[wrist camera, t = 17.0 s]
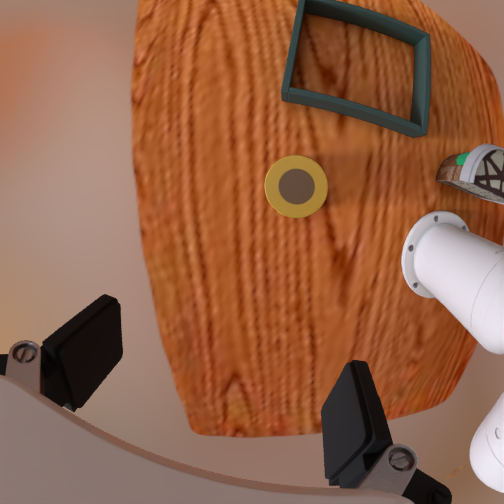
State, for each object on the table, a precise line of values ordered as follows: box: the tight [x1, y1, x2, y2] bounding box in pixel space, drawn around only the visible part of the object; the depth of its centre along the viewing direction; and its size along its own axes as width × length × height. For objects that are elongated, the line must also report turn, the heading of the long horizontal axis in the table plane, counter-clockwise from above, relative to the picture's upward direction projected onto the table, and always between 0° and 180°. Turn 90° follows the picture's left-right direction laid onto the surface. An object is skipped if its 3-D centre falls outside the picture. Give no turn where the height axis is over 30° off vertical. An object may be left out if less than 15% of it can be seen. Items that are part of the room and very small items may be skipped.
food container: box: [436, 144, 504, 205], centre depth 23 cm, size 12×6×10 cm, turn 82°
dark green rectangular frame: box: [281, 0, 431, 138], centre depth 24 cm, size 18×16×4 cm
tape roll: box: [265, 155, 328, 218], centre depth 30 cm, size 7×7×5 cm
